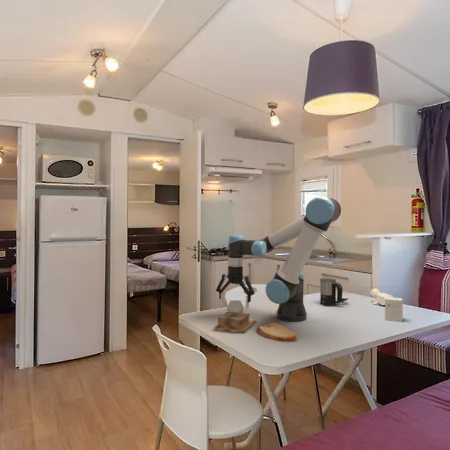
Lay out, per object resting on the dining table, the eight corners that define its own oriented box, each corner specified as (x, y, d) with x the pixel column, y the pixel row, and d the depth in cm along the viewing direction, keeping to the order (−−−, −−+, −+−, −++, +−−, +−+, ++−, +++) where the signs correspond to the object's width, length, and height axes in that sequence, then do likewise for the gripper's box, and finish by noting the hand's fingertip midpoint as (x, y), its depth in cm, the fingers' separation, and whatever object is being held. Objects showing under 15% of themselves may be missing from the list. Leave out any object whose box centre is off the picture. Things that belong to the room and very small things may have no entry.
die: (238, 321, 184) (248, 303, 187) (222, 311, 186) (233, 294, 189) (237, 322, 193) (247, 306, 195) (222, 313, 194) (232, 297, 197)
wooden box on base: (256, 322, 180) (256, 310, 180) (244, 333, 164) (244, 320, 164) (229, 319, 186) (229, 307, 185) (215, 329, 169) (215, 317, 169)
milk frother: (317, 305, 216) (317, 279, 216) (326, 299, 229) (326, 275, 228) (341, 308, 208) (342, 282, 207) (350, 303, 221) (350, 278, 220)
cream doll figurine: (394, 311, 214) (374, 296, 226) (399, 298, 211) (378, 284, 223) (384, 313, 210) (364, 298, 222) (389, 300, 207) (369, 286, 219)
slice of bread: (297, 343, 152) (297, 334, 152) (253, 340, 156) (253, 331, 156) (297, 330, 170) (297, 321, 170) (258, 327, 173) (258, 319, 173)
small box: (402, 319, 187) (402, 298, 187) (402, 321, 182) (402, 300, 182) (385, 317, 191) (385, 296, 190) (384, 319, 185) (385, 298, 185)
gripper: (261, 266, 189) (260, 307, 190) (215, 263, 198) (215, 302, 199) (256, 268, 182) (255, 311, 183) (210, 264, 191) (209, 305, 192)
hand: (234, 306), depth 191 cm, fingers open, 13 cm apart
